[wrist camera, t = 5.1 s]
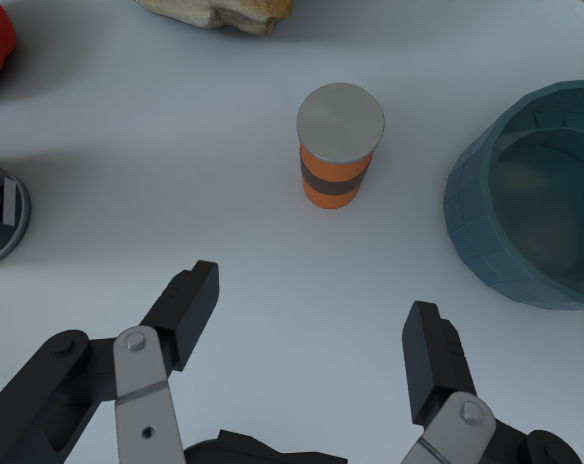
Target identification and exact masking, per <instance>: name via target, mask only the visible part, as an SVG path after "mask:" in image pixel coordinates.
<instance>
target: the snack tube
mask: <svg viewBox="0 0 584 464" xmlns="http://www.w3.org/2000/svg"><path fill="white" fill-rule="evenodd" d="M383 131H384V115H383V111H382V108H381V106H380V104H379V103H378V101H377V100H376V99H375V98H374V96H373V95H371V94H370V93H369V92H368V91H366V90H365V89H363V88H361V87H359V86H356V85H352V84H347V83H335V84H329V85H326V86H323V87H321V88H319V89H317V90H315V91H314V92H312V93H311V94H310V95H309V96H308V97H307V98H306V99H305V100H304V102H303V103H302V105H301V107H300V109H299V112H298V116H297V132H298V136H299V139H300V161H301V171H302V178H303V188H304V191H305V194H306V195H307V197H308V198H309V200H310V201H311V202H312V203H314V204H315V205H317V206H319V207H321V208H325V209H336V208H340V207H343V206H345V205H346V204H348V203H349V202H350V201H351V200H352V199H353V198H354V197H355V195H356V193H357V190H358V188H359V186H360V183H361V181H362V179H363V178H364V175H365V173H366V170H367V168H368V166H369V163H370V161H371V158H372V154H373V152H374V149H375V148H376V147H377V145H378V143H379V142H380V139H381V137H382V134H383Z"/></svg>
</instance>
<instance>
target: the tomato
mask: <svg viewBox="0 0 584 464" xmlns="http://www.w3.org/2000/svg"><path fill="white" fill-rule="evenodd" d="M15 44H16V34H15V31H14V28H13V25H12V22H11V20H10V19H9V17H8V15H7V14H6V12H5V10H4V9H3V8H2V6H1V5H0V70H1V68H2V66H3V64H4V58H5V56H7V55H9V54H10V53H12V52H13V51H14V49H15Z"/></svg>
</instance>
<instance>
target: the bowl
mask: <svg viewBox="0 0 584 464" xmlns="http://www.w3.org/2000/svg"><path fill="white" fill-rule="evenodd" d="M444 210H445V217H446V223H447V229H448V233H449V235H450V237H451V239H452V241H453V243H454V245H455V247H456V249H457V251H458V253H459V255H460V257H461V258H462V260H463V262H464V263H465V264H466V265H467V266H468V267H469V268H470V269H471V270H472V271H473V272H474V273H475V274H476V275H477V276H478V277H479V278H480V279H481V280H482V281H483V282H484V283H485V284H486V285H487V286H489V287H491V288H492V289H494V290H496V291H498V292H499V293H501V294H503V295H505V296H506V297H508V298H510V299H511V300H513V301H516V302H520V303H524V304H528V305H532V306H536V307H540V308H544V309H550V310H580V311H584V80H576V81H565V82H557V83H555V84H552V85H549V86H547V87H544V88H542V89H539V90H537V91H534V92H532V93H529V94H527V95H525V96H523V97H522V98H521V99H520V100H519V101H518V102H516V103H515V104H514V105H513V106H512V107H510V108H509V109H508V110H507V111H506V112H504V113H503V114H502V115H501V116H500V117H499V118H498V119H497V120H496V121H495V122H494V123H493V124H492V125H491V126H490V127H489V128H488V129H487V130H486V131H485V132H483V133H482V134H481V135H480V136H479V137H478V138H477V139H476V140H475V141H474V142H473V143H472V144H471V145H470V146H469V147H468V148H467V149H466V150H465V151H464V152H463V153H462V154H461V156H460V158H459V159H458V161H457V163H456V165H455V166H454V168H453V170H452V171H451V173H450V175H449V177H448V181H447V187H446V193H445V198H444Z"/></svg>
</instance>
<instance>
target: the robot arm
mask: <svg viewBox="0 0 584 464" xmlns="http://www.w3.org/2000/svg"><path fill="white" fill-rule="evenodd" d="M29 212H30V203H29V197H28V193H27V191H26V189H25V187H24V185H23V184H22V182H21V181H20V180H19V179H18V178H17V177H16V176H15V175H13V174H12V173H10V172H8V171H6V170H3V169H1V168H0V259H1V258H2V257H4V256H5V255H6V254H8V253H9V252H10V251H11V250H12V249H13V248H14V246H15V245H16V244H17V243H18V241H19V240H20V238H21V237H22V235H23V233H24V231H25V228H26V226H27V223H28V219H29ZM218 297H219V271H218V264H217V263H214V262H209V261H203V260H199V261H197V263H196V264H195V266H194V267H193V269H192V270H191V271H188V270H183V271H182V272H180V273H179V274H177V275H176V276H174V277H173V279H172V280H171V281H170V283H169V284H168V286H167V288H165V290H164V291H163V292H162V294H161V296H160V297H159V298H158V299H157V301H156V302H155V303H154V305H153V306H152V308H151V309H150V310H149V312H148V313H147V315H146V316H145V317H144V319H143V320H142V321H141V323H140V324H139V325H138V326H134V327H131V328H129V329H127V330H125V331H123V332H122V333H121V334H120V335H119V336H118V337H116V338H108V339H95V340H89V338H88V336H87V334H86V333H85V332H83V331H80V330H67V331H63V332H60V333H58V334H56V335H54V336H52V337H51V338H49V339H48V340H47V341H46V342H45V343H44V344H43V345H42V346H41V347H40V348H39V349H38V351H37V352H36V353H35V354H34V355H33V356H32V357H31V358H30V359H29V361H28V362H27V363H26V364H25V365H24V366H23V367H22V368H21V370H20V371H19V372H18V373H17V374H16V375H15V376H14V377H13V379H12V380H11V381H10V382H9V383H8V384H7V385H6V386H5V387H4V389H3V390H2V391H1V392H0V464H64V462H65V461H66V459H67V457H68V456H69V454H70V452H71V451H72V449H73V447H74V446H75V444H76V442H77V441H78V439H79V438H80V436H81V434H82V433H83V431H84V429H85V428H86V426H87V424H88V423H89V421H90V419H91V418H92V416H93V415H94V413H95V411H96V410H97V408H98V406H99V405H100V403H101V402H102V401H111V400H116V401H115V417H116V430H117V443H118V455H119V464H347V463H348V459H345V458H341V457H336V456H332V455H328V454H324V453H319V452H300V453H279V452H277V451H276V450H274V449H272V448H270V447H269V446H267V445H265V444H263V443H261V442H260V441H258V440H256V439H254V438H253V437H251V436H247V435H242V434H238V433H234V432H230V431H225V430H221V429H220V432H219V435H218V438H217V439H211V440H206V441H202V442H200V443H197V444H194V445H192V446H190V447H188V448H187V449H185V450H183V447H182V442H181V438H180V433H179V429H178V424H177V420H176V415H175V411H174V406H173V402H172V397H171V392H170V388H169V383H168V378H169V376H170V374H171V372H172V370H175V371H180V372H182V371H183V369H184V367H185V365H186V363H187V361H188V359H189V357H190V355H191V353H192V351H193V349H194V347H195V345H196V343H197V341H198V339H199V337H200V335H201V333H202V331H203V330H204V328H205V326H206V324H207V322H208V320H209V318H210V316H211V314H212V312H213V310H214V308H215V306H216V304H217V301H218ZM402 344H403V352H404V360H405V368H406V376H407V383H408V391H409V399H410V407H411V415H412V423H413V424H416V425H421V426H423V428H424V433H423V434H422V436H421V437H420V438H419V439H418V440H417V441H416V443H415V444H414V445H413V447H412V448H411V450H410V451H409V452H408V454H407V455H406V457H405V458H404V459H403V461H402V462H401V464H582V462H581V460H580V458H579V457H578V455H577V454H576V453H575V451H574V450H573V449H572V448H571V447H570V446H569V445H568V444H567V443H566V442H565V441H564V440H562V439H561V438H559V437H558V436H556V435H554V434H552V433H550V432H547V431H544V430H534V431H532V432H531V433H530V434H529V435H526V434H524V433H522V432H520V431H518V430H516V429H514V428H512V427H510V426H508V425H506V424H504V423H503V422H501V421H499V420H498V419H496V418H495V417H494V415H493V413H492V411H491V410H490V408H489V407H488V406H487V405H486V404H485V403H484V402H483V401H482V400H481V399H480V398H478V396H477V393H476V390H475V387H474V384H473V380H472V377H471V374H470V371H469V367H468V364H467V361H466V358H465V357H464V351H463V348H462V346H461V341H460V338H459V335H458V332H457V330H456V329H455V328H454V326H453V325H452V324H451V323H450V321H449V320H446V319H441V318H440V314H439V311H438V307H437V305H436V304H434V303H428V302H423V301H417V300H416V301H414V303H413V305H412V308H411V310H410V313H409V315H408V318H407V320H406V322H405V325H404V328H403V333H402Z"/></svg>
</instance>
